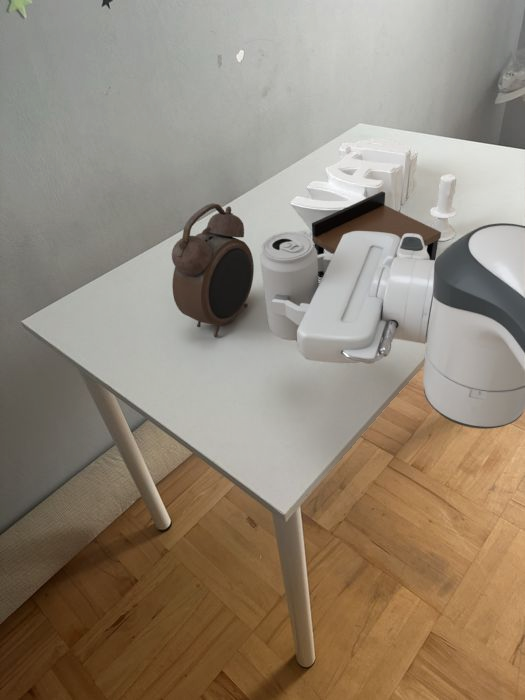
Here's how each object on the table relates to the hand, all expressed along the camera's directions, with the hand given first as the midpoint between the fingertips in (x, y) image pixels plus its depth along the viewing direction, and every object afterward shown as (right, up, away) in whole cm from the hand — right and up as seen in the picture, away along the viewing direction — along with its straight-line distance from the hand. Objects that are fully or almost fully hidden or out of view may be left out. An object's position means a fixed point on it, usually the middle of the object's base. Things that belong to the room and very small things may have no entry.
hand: (284, 283), depth 59 cm
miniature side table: (+17, +6, +31) cm, 36 cm away
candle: (+32, +14, +38) cm, 52 cm away
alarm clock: (-9, -3, +27) cm, 28 cm away
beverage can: (+2, -5, +4) cm, 7 cm away
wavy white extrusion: (+18, +22, +48) cm, 56 cm away
